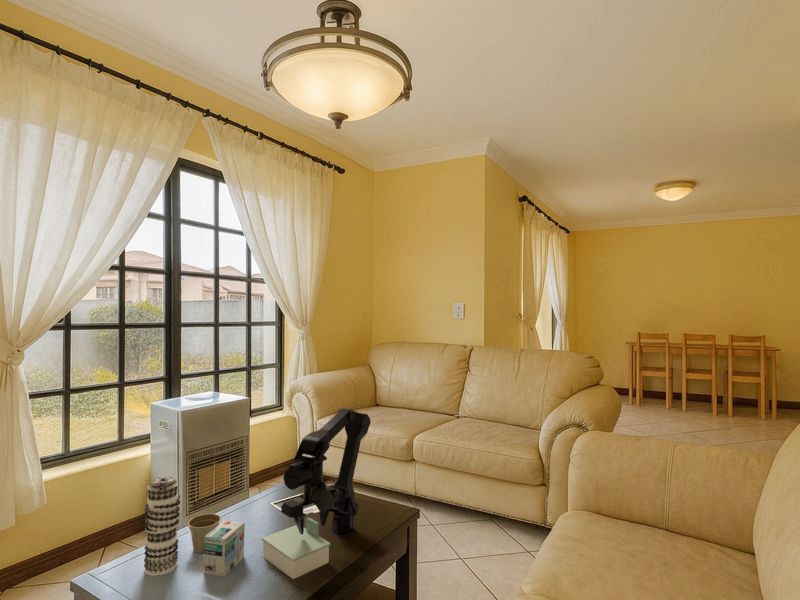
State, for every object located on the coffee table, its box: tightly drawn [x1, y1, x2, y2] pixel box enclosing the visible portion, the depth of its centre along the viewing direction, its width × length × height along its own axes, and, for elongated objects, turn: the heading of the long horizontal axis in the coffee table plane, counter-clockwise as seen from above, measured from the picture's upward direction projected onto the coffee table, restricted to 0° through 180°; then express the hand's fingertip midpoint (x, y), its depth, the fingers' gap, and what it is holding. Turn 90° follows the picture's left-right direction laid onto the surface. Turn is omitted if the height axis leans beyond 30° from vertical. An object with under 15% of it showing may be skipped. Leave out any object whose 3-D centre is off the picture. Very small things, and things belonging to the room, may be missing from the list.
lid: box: [261, 517, 331, 562], centre depth 136 cm, size 13×17×5 cm
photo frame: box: [269, 493, 320, 520], centre depth 173 cm, size 15×1×18 cm
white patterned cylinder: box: [143, 476, 181, 577], centre depth 132 cm, size 9×9×25 cm
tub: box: [262, 541, 330, 580], centre depth 136 cm, size 12×16×6 cm
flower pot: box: [187, 513, 222, 554], centre depth 143 cm, size 9×9×9 cm
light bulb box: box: [203, 519, 246, 577], centre depth 133 cm, size 11×7×11 cm, turn 168°
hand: (312, 529), depth 140 cm, fingers open, 7 cm apart
